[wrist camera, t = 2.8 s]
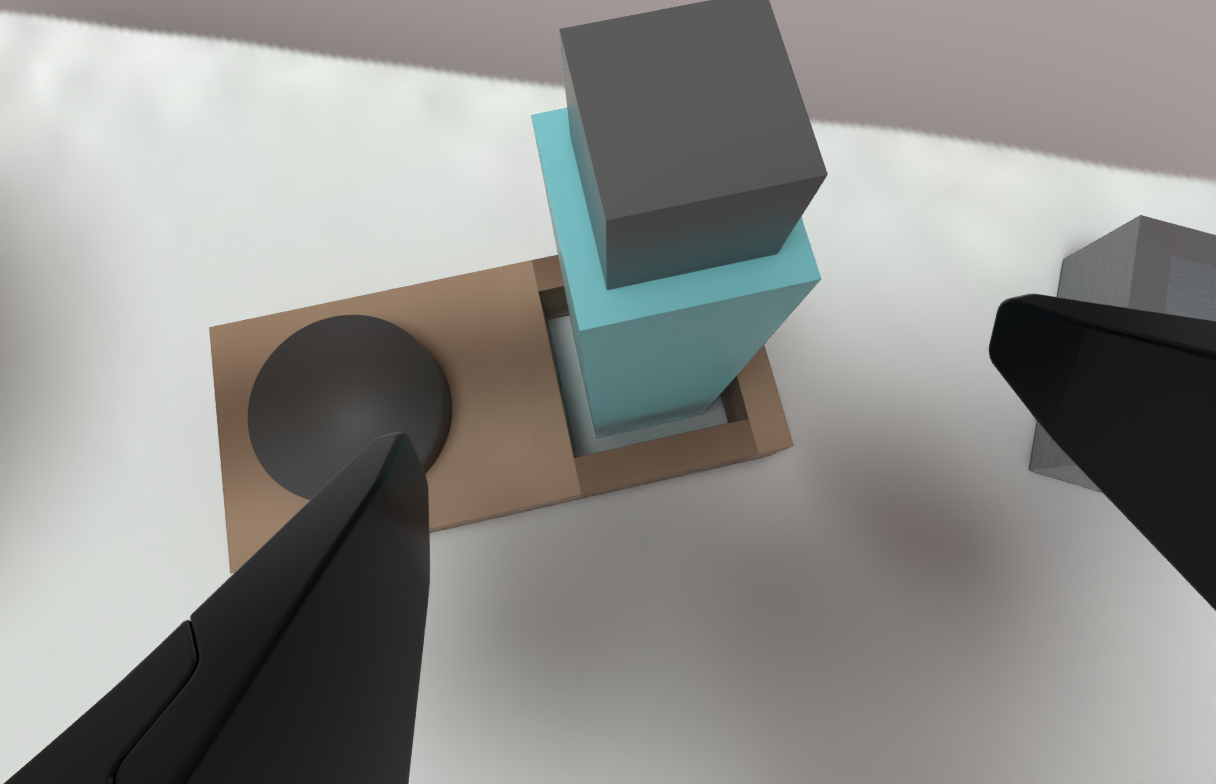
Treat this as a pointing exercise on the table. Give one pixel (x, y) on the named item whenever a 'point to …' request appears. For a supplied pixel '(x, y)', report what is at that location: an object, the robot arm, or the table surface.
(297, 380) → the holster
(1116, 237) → the port block
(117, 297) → the table surface
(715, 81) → the plug
